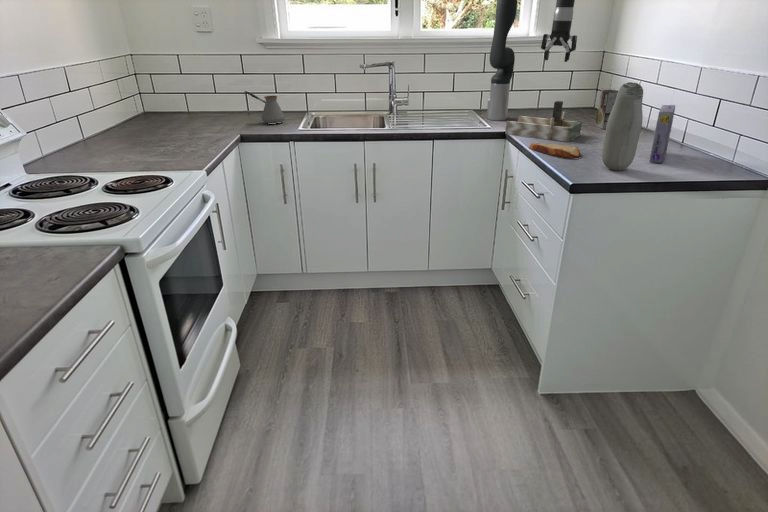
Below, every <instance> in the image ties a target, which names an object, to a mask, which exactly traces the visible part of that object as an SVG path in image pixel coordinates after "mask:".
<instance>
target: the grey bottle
mask: <svg viewBox="0 0 768 512" xmlns="http://www.w3.org/2000/svg"><path fill="white" fill-rule="evenodd" d="M617 91H618V93H617V97H616V100H615V104H614V106H613V108H612V111H611V113H610V116H609V118H608V122H607V127H606V129H605V133H604V134H605V135H604V139H603V140H604V141H603V146H602V152H601V160H602V163H603V165H604V166H605V167H606V168H607V169H610V170H611V169H612V171H623V170H626V169H627V168H629V167H630V165H632V163H633V161H634V160H635V157H636V152H637V148H638V144H639V140H640V135H641V132H642V131H641V130H642V127H643V97H644V88H643V87H642V85H641V84H639V83H637V82H631V81H630V82H626V83H623V84H622V85H621V86H620V87H619V89H618V90H617Z"/></svg>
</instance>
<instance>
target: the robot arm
mask: <svg viewBox="0 0 768 512" xmlns="http://www.w3.org/2000/svg"><path fill="white" fill-rule="evenodd" d="M575 1H576V0H556V4H555V10H554V13H553V18H552V19H553V20H552V27H551V32H550V33H551V34H548V33H544V34H543V35H542V41H541V45H540V49H541V50H543V51H544V55H543V59H544V60H545V61H548V60H549V58H550V57H549V56H550V50H551V49H552V47H553V46H554V47H555V46H559V47H563V48H564V50H565V51H566V52H565V56H564V60H563V61H564V63H567V62H568V61H570V56H571V53H572V52H574V51H576V48H577V43H578V42H577V41H578V35H575V34H574V35H571V29H572V23H573V19H574V18H573V17H574V6H575V3H576V2H575ZM517 10H518V0H497V1H496V8H495V20H494V28H493V36H492V41H491V47H490V51H489V64H490V66H491V67H492V68H493V69H495V70H496V71H495V74H493V75H492V76H491V77H490V78H491V79H490V87H489V88H490V91H489V98H488V99H487V108H486V109H487V110H486V120H487V119H488V120H490V121H506V120H507V118H508V109H509V108H508V107H509V99H510V89H511V88H510V87H511V81H512V78H513V75H514V69H515V60H516V59H515V58H516V56H515V52H514V50H513V48H511V47H507V46H506V45H507V39H508V34H509V32H510V31H511V29H512V26H513V25H514V22H515V20H516V16H517ZM549 39H550V42H549V43H548V44H547V42H548V40H549ZM569 40H570V41H571V46H570V44H569V42H568V41H569Z"/></svg>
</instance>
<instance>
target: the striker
mask: <svg viewBox="0 0 768 512" xmlns="http://www.w3.org/2000/svg"><path fill="white" fill-rule="evenodd" d="M553 103H554V104H553V110H552V117H551V118H554V124H553V126H559V127H561V126H562V122H563V119H562V114H563V104H564V102H563V101H562V100H561V101H560V100H556V101H554V102H553ZM549 125H550V123H549Z"/></svg>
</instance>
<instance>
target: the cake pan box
mask: <svg viewBox="0 0 768 512" xmlns="http://www.w3.org/2000/svg"><path fill="white" fill-rule="evenodd" d="M661 105H662V104H661ZM675 110H676V105H675V104H672V105H671V104H668V105H666V104H665V105H662V106H661V108H660V109H659V112H658V116H657V121H656V126H655V131H654V136H653V143H652V147H651V152H650V157H649V162H650V163H657V164H661V163H663V164H664V162H665V158H666V155H667V150H668V146H669V142H670V136H671V132H672V126H673V121H674V117H675V116H674V115H675V112H676V111H675Z"/></svg>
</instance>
